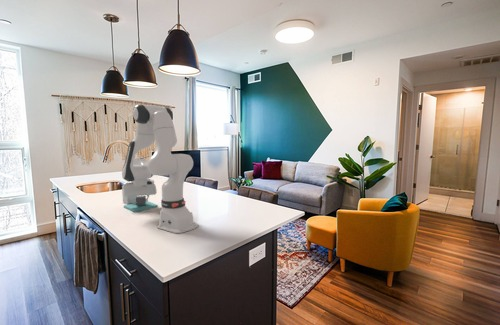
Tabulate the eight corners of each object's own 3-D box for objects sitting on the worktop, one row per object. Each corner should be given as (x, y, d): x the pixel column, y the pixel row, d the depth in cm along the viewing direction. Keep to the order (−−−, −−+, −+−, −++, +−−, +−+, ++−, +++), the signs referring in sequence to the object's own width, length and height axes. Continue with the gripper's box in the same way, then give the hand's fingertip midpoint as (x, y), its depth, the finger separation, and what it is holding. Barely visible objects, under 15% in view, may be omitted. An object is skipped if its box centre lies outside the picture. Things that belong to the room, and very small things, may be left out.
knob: (145, 204, 159) (145, 197, 159) (136, 205, 157) (135, 197, 157) (146, 202, 164) (145, 195, 164) (137, 203, 162) (136, 195, 162)
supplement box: (127, 204, 166) (126, 187, 165) (122, 202, 171) (121, 185, 170) (137, 202, 172) (136, 185, 171) (132, 200, 177) (131, 184, 175)
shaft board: (157, 206, 162) (157, 200, 161) (134, 212, 150) (133, 205, 149) (146, 202, 172) (146, 196, 171) (123, 207, 160) (123, 201, 159)
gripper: (122, 183, 153) (123, 204, 154) (155, 181, 159) (156, 201, 161) (123, 181, 159) (125, 201, 160) (156, 180, 165) (157, 199, 167)
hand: (141, 201), depth 161 cm, fingers closed on knob, 5 cm apart
